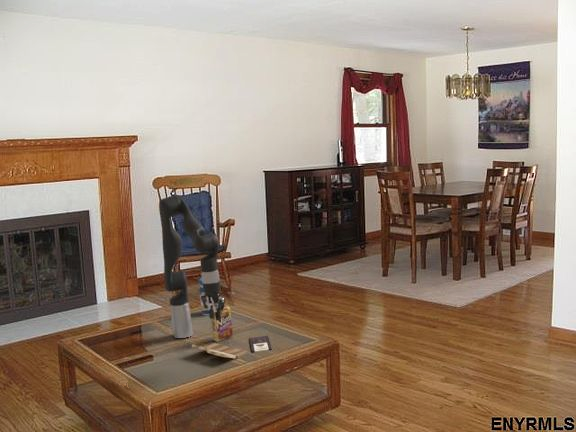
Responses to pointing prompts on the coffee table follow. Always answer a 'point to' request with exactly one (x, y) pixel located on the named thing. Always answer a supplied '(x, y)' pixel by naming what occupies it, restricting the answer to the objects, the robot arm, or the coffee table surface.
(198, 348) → the plank
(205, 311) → the beverage bottle
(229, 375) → the coffee table surface
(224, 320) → the candy box
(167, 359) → the coffee table surface
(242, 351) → the laid row
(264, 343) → the chocolate bar
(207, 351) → the plank
